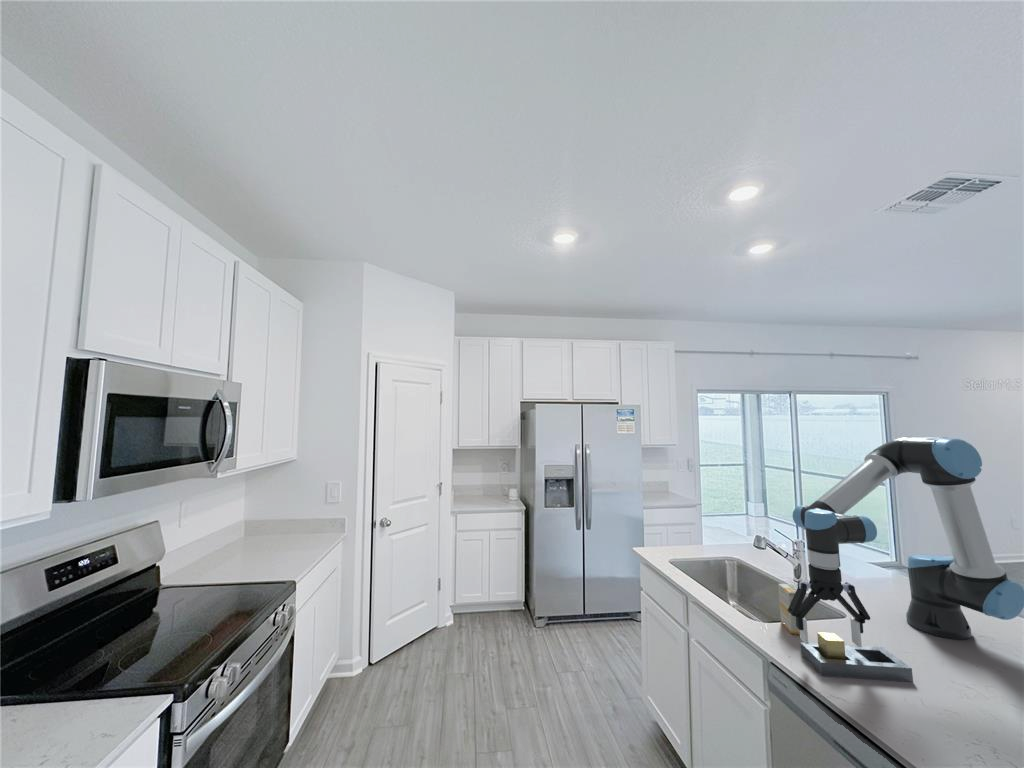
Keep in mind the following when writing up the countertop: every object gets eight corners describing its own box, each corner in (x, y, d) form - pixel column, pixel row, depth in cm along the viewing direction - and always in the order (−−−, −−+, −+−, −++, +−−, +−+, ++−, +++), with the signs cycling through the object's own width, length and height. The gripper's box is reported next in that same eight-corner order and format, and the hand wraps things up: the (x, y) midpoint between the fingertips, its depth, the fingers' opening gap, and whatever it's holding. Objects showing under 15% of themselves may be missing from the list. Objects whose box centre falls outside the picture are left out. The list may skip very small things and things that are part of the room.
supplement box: (807, 635, 134) (804, 593, 136) (791, 634, 135) (788, 592, 137) (796, 623, 142) (793, 583, 144) (780, 622, 143) (777, 582, 145)
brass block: (836, 662, 119) (834, 633, 120) (846, 671, 115) (844, 641, 115) (819, 661, 120) (817, 632, 121) (828, 670, 115) (826, 640, 116)
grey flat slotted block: (884, 660, 120) (882, 647, 120) (913, 682, 110) (911, 668, 110) (801, 654, 123) (800, 642, 124) (822, 675, 113) (820, 662, 113)
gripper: (863, 562, 122) (870, 639, 120) (771, 559, 125) (776, 633, 123) (881, 571, 114) (889, 653, 112) (783, 568, 118) (789, 647, 116)
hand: (830, 643), depth 118 cm, fingers open, 13 cm apart
